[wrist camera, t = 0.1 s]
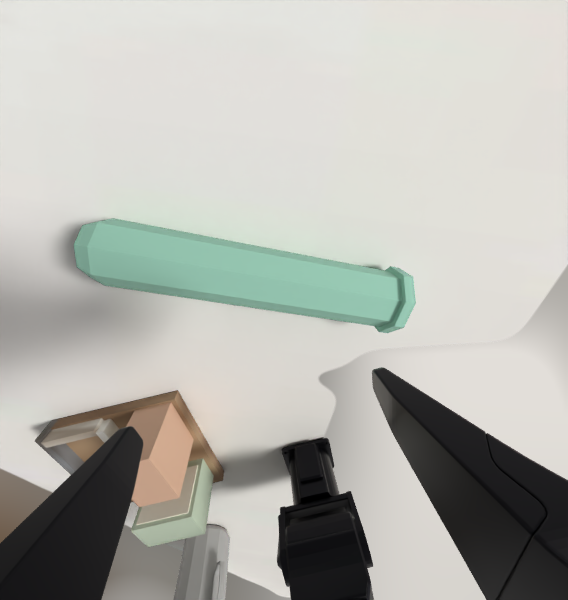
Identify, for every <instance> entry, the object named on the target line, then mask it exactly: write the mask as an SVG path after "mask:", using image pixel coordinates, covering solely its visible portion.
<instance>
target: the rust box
mask: <svg viewBox="0 0 568 600" xmlns="http://www.w3.org/2000/svg"><path fill="white" fill-rule="evenodd" d="M128 426H132V427H134V428H135V430H136V431H137V432H138V434H139V435H140V436H141V438H142V439H143V450H142V455H141V459H140V464H139V469H138V474H137V479H136V483H135V488H134V492H133V496H132V500H133V501H134V502H135V503H136V504H137V505H138V506H139V507H143V506H147V505H151V504H155V503H160V502H164V501H168V500H172V499H177V498H180V493H181V489H182V485H183V481H184V477H185V473H186V469H187V465H188V461H189V457H190V452H191V448H192V444H193V440H194V439H193V437H192V436H191V434H190V432H189V431H188V429H187V427H186V426H185V424H184V423H183V421H182V419H181V418H180V416H179V414H178V413H177V411H176V409H175V408H174V406H173V404H172V403H171V402H168V403H164V404H160V405H156V406H152V407H147V408H143V409H139V410H135V411H134V413H133V415H132V417H131V418H130V420H129V422H128V424H127V426H126V427H128Z"/></svg>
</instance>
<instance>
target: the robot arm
mask: <svg viewBox="0 0 568 600" xmlns="http://www.w3.org/2000/svg"><path fill="white" fill-rule="evenodd" d="M372 380H373V389H374V392H375V394H376V397H377V399H378V401H379V403H380V406H381V408H382V410H383V413H384V415H385V417H386V420H387V422H388V424H389V426H390V428H391V431H392V433H393V435H394V437H395V439H396V440H397V442H398V444H399V446H400V447H401V449H402V451H403V453H404V455H405V456H406V458H407V460H408V461H409V463H410V465H411V467H412V469H413V470H414V472H415V474H416V476H417V478H418V479H419V481H420V483H421V485H422V486H423V488H424V490H425V492H426V493H427V495H428V497H429V498H430V501H431V502H432V504H433V506H434V508H435V509H436V511H437V513H438V515H439V516H440V518H441V520H442V522H443V523H444V525H445V527H446V529H447V530H448V532H449V534H450V536H451V537H452V539H453V541H454V543H455V545H456V546H457V548H458V550H459V552H460V554H461V555H462V557H463V559H464V561H465V562H466V564H467V566H468V568H469V570H470V571H471V573H472V575H473V577H474V578H475V580H476V582H477V584H478V585H479V587H480V589H481V591H482V593H483V594H484V596H485V598H486V600H568V480H566V479H565V478H563V477H561V476H559V475H557V474H555V473H554V472H552V471H550V470H548V469H546V468H545V467H543V466H541V465H539V464H538V463H536V462H534V461H532V460H530V459H529V458H527V457H525V456H523V455H522V454H520V453H519V452H517V451H516V450H514V449H512V448H511V447H509V446H507V445H506V444H504V443H502V442H501V441H499V440H498V439H496V438H494V437H493V436H491V435H490V434H488V433H487V434H486V433H485V431H483V430H482V429H480V428H478V427H477V426H475V425H474V424H472V423H471V422H469V421H467V420H466V419H464V418H463V417H461V416H460V415H458V414H456V413H455V412H453V411H452V410H450V409H449V408H447V407H445V406H444V405H442V404H441V403H439V402H438V401H436V400H434V399H433V398H431V397H429V396H428V395H426V394H425V393H423V392H422V391H420V390H419V389H417V388H415V387H414V386H412V385H411V384H409V383H407V382H406V381H404V380H403V379H401V378H400V377H398V376H396V375H395V374H393V373H392V372H390V371H389V370H387V369H385V368H378V369H374V370H373V371H372ZM142 450H143V439H142V438H141V436H140V435H139V434H138V432H137V431H136V430H135V428H134V427H132V426H128V427H124V428H121V429H119V430H117V431H116V432H115V433H114V434H113V435H112V436H111V437H110V438H109V439H108V440H107V441H106V442H105V443H104V444H103V445H102V446H101V447H100V448H99V449H98V450H97V451H96V452H95V453H94V454H93V455H92V456H90V457H89V458H88V459H87V460H86V461H85V462H84V463H83V464H82V465H81V466H80V467H79V468H78V469H77V470H76V471H75V472H74V473H73V474H72V475H71V476H70V477H69V478H68V479H67V480H66V481H65V482H64V483H62V484H61V485H60V486H59V487H58V488H57V489H56V490H55V491H54V492H53V493H52V494H51V495H50V496H49V497H48V498H47V499H46V500H45V501H44V502H43V503H42V504H41V505H40V506H39V507H38V508H37V509H36V510H34V511H33V513H31V514H30V515H29V516H28V517H27V518H26V519H25V520H24V521H23V522H22V523H21V524H20V525H19V526H18V527H17V528H16V529H15V530H14V531H13V532H12V533H11V534H10V535H9V536H8V537H7V538H5V539H4V540H3V541H2V542H1V543H0V600H101V599H102V595H103V592H104V589H105V585H106V582H107V578H108V576H109V572H110V569H111V566H112V562H113V559H114V556H115V552H116V549H117V546H118V542H119V539H120V536H121V532H122V529H123V526H124V523H125V519H126V516H127V513H128V509H129V506H130V503H131V499H132V496H133V492H134V488H135V483H136V479H137V474H138V469H139V464H140V459H141V455H142ZM282 454H283V457H284V460H285V462H286V465H287V468H288V471H289V474H290V476H291V485H292V494H293V502H294V505H293V506H289V507H281V508H280V515H279V516H278V521H279V543H278V554H277V563H278V566H279V567H280V568H281V570H282V572H283V576H284V579H285V583H286V586H287V587H288V586H290V595H291V600H374V598H373V593H372V587H371V581H370V576H369V573H368V569H367V568H370V567H373V563H372V559H371V554H370V551H369V547H368V544H367V540H366V537H365V533H364V530H363V527H362V524H361V521H360V518H359V515H358V512H357V509H356V506H355V503H354V500H353V497H352V494H351V491H348V492H346V493H344V494H340V495H339V491H338V487H337V483H336V480H335V476H334V472H333V467H334V462H333V457H332V453H331V448H330V443H329V440H328V439H327V438H324V439H320V440H316V441H311V442H307V443H303V444H299V445H294V446H290V447H286V448H283V449H282Z"/></svg>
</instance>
